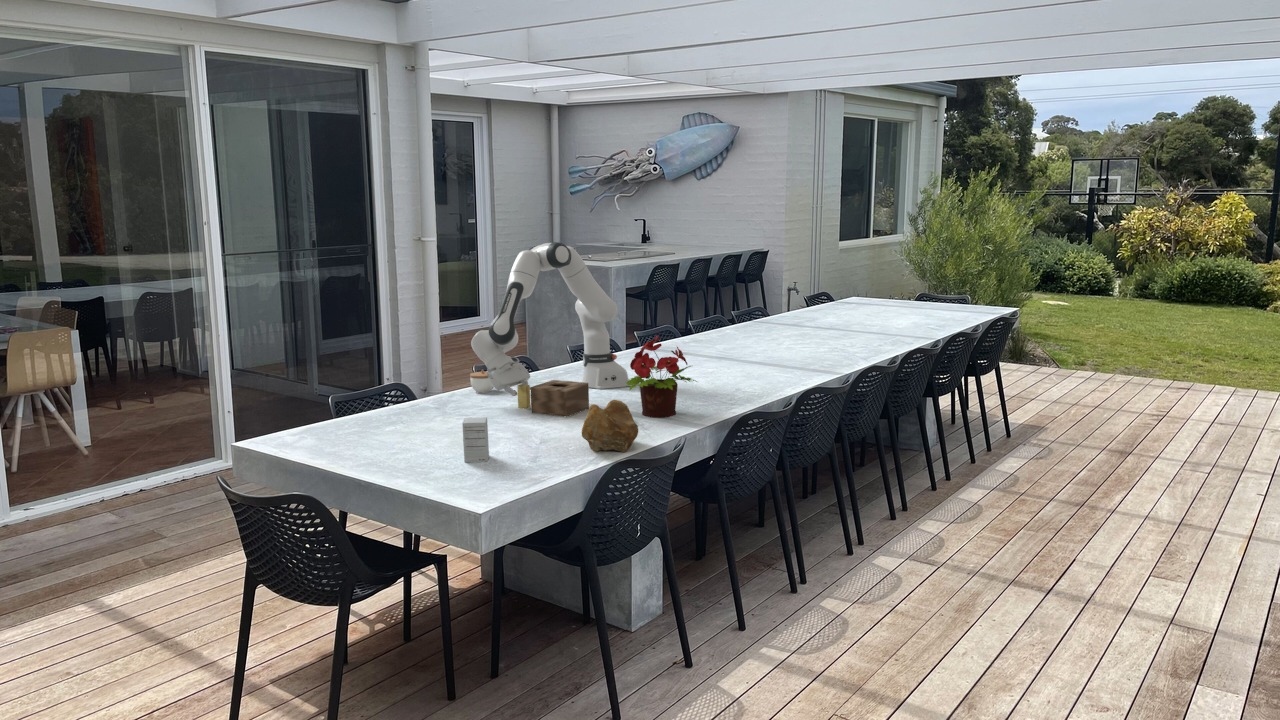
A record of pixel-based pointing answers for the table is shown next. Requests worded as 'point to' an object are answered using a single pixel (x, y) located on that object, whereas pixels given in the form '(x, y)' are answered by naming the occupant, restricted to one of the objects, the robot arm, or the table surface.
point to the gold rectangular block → (523, 396)
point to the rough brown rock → (610, 427)
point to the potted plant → (656, 381)
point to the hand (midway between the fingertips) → (522, 392)
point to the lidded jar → (481, 382)
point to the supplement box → (475, 439)
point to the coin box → (559, 398)
